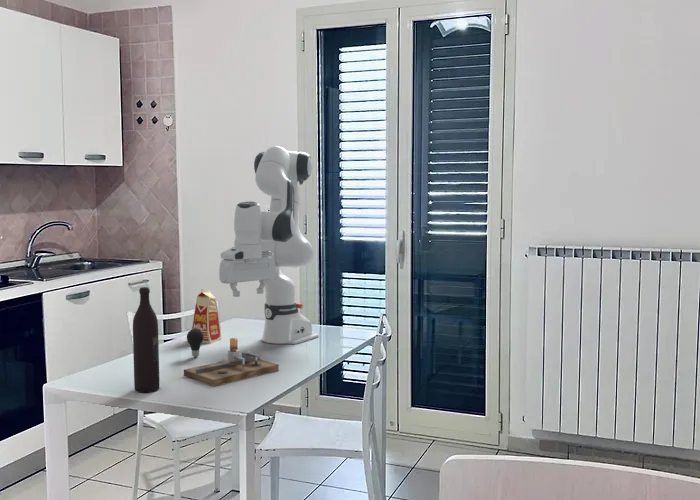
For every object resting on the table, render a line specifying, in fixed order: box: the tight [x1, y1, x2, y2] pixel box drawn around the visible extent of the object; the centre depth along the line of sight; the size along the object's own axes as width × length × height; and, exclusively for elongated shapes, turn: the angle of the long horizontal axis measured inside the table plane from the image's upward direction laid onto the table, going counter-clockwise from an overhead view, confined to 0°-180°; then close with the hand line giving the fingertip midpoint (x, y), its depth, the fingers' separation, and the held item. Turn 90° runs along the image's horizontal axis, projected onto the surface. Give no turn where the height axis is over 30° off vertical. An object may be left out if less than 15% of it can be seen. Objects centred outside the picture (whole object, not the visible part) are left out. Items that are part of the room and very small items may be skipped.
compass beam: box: [196, 351, 261, 374], centre depth 225 cm, size 24×6×3 cm, turn 136°
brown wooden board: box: [183, 358, 280, 387], centre depth 225 cm, size 25×16×2 cm, turn 136°
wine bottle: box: [132, 286, 160, 394], centre depth 206 cm, size 7×7×30 cm
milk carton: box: [191, 289, 222, 344], centre depth 271 cm, size 9×9×20 cm
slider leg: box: [227, 337, 245, 367], centre depth 226 cm, size 2×7×8 cm, turn 46°
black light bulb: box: [186, 328, 203, 359], centre depth 244 cm, size 6×6×10 cm
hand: (248, 295), depth 230 cm, fingers open, 8 cm apart
